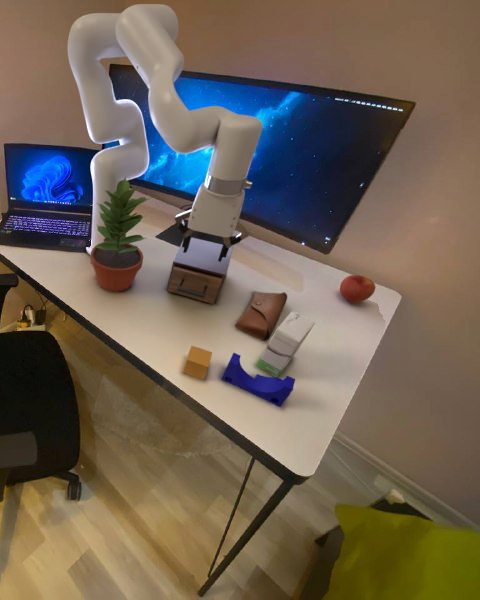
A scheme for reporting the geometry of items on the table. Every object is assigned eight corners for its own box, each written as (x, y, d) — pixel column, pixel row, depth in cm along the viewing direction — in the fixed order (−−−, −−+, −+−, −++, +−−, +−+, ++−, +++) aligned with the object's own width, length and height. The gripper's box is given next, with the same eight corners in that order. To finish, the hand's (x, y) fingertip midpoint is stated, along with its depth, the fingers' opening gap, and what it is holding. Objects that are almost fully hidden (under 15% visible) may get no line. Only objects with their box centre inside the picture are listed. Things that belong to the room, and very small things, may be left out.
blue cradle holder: (284, 391, 73) (296, 373, 69) (280, 407, 70) (292, 389, 66) (227, 365, 78) (235, 347, 74) (221, 379, 75) (229, 361, 71)
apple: (368, 300, 96) (385, 277, 90) (359, 312, 92) (376, 288, 87) (339, 287, 100) (354, 264, 95) (329, 298, 96) (344, 275, 91)
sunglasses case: (253, 289, 97) (273, 278, 92) (270, 307, 97) (292, 297, 92) (232, 326, 86) (255, 315, 81) (252, 347, 86) (276, 337, 81)
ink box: (277, 378, 75) (300, 342, 68) (255, 365, 78) (275, 329, 70) (292, 357, 80) (316, 321, 72) (271, 346, 82) (292, 309, 75)
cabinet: (215, 303, 94) (226, 275, 87) (166, 289, 98) (173, 261, 92) (223, 274, 104) (233, 247, 97) (178, 262, 108) (185, 235, 102)
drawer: (210, 315, 89) (218, 292, 84) (163, 301, 93) (168, 278, 87) (220, 276, 101) (228, 254, 96) (178, 265, 105) (184, 243, 100)
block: (186, 358, 79) (191, 345, 76) (206, 365, 78) (212, 352, 75) (182, 372, 76) (187, 359, 73) (203, 380, 75) (208, 367, 72)
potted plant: (109, 259, 109) (118, 162, 89) (149, 280, 101) (168, 179, 81) (76, 279, 101) (77, 178, 81) (116, 304, 93) (128, 198, 73)
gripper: (270, 184, 72) (242, 255, 83) (186, 169, 77) (170, 238, 89) (268, 198, 66) (238, 272, 78) (178, 181, 72) (163, 253, 83)
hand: (202, 253), depth 83 cm, fingers open, 7 cm apart
